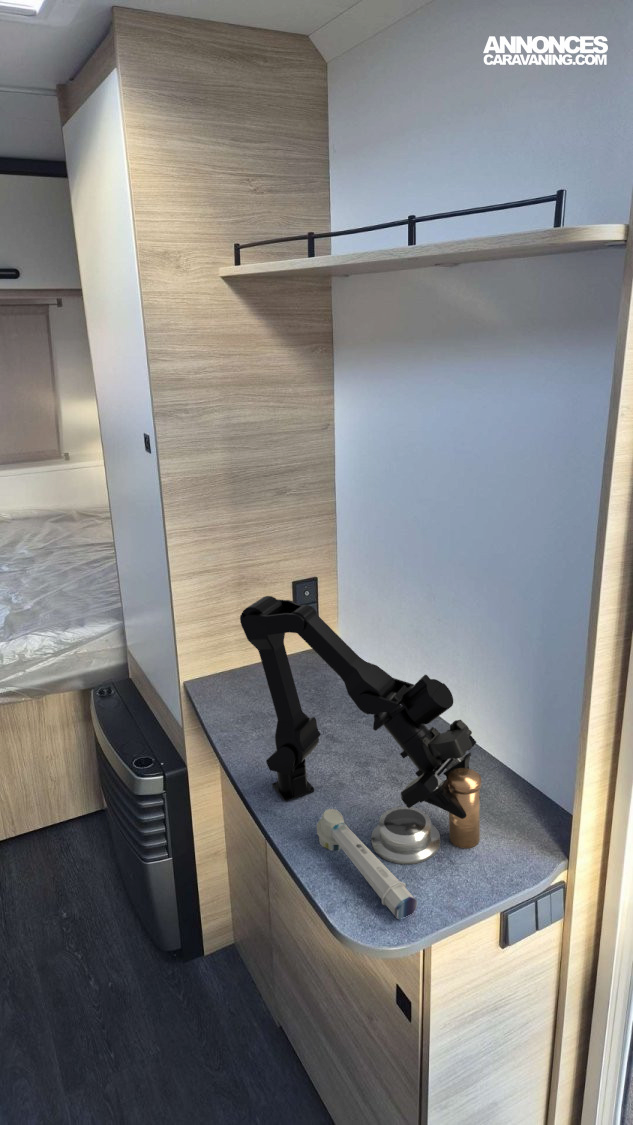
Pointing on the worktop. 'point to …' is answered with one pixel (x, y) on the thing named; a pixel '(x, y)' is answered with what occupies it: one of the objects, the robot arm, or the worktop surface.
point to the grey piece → (365, 863)
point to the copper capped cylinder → (465, 807)
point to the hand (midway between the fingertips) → (471, 808)
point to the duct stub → (405, 836)
